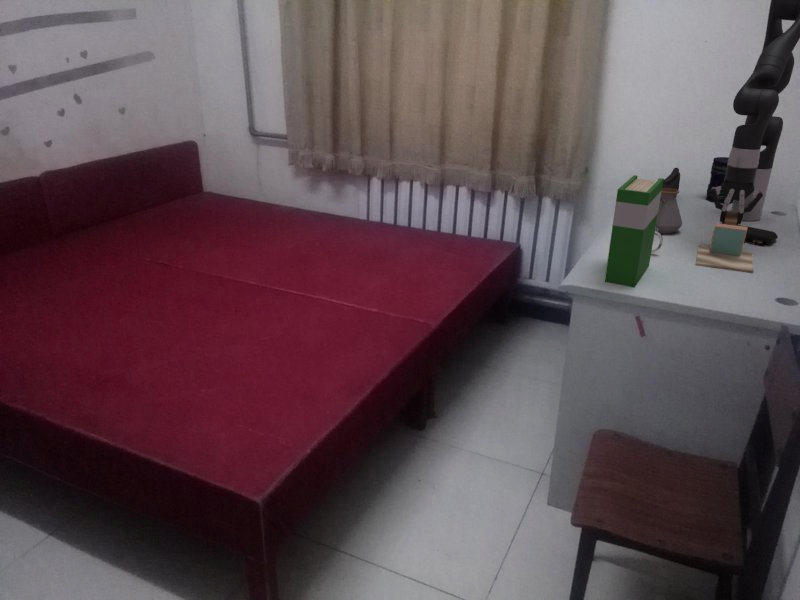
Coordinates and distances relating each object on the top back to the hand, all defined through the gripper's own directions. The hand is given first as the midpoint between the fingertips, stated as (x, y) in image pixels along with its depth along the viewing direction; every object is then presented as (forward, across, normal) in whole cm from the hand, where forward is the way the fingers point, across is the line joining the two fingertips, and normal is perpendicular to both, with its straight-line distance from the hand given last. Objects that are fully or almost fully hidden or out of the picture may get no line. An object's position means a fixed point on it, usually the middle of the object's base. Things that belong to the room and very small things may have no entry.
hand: (729, 224), depth 188 cm
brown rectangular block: (+3, 0, +2) cm, 3 cm away
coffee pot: (+8, +19, -6) cm, 22 cm away
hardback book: (+8, +23, +33) cm, 41 cm away
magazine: (+8, +20, -45) cm, 50 cm away
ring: (+8, +20, +14) cm, 26 cm away
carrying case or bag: (+8, -6, -14) cm, 17 cm away
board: (+8, 0, +10) cm, 13 cm away
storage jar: (+7, +2, -60) cm, 60 cm away
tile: (+7, 0, +6) cm, 9 cm away
